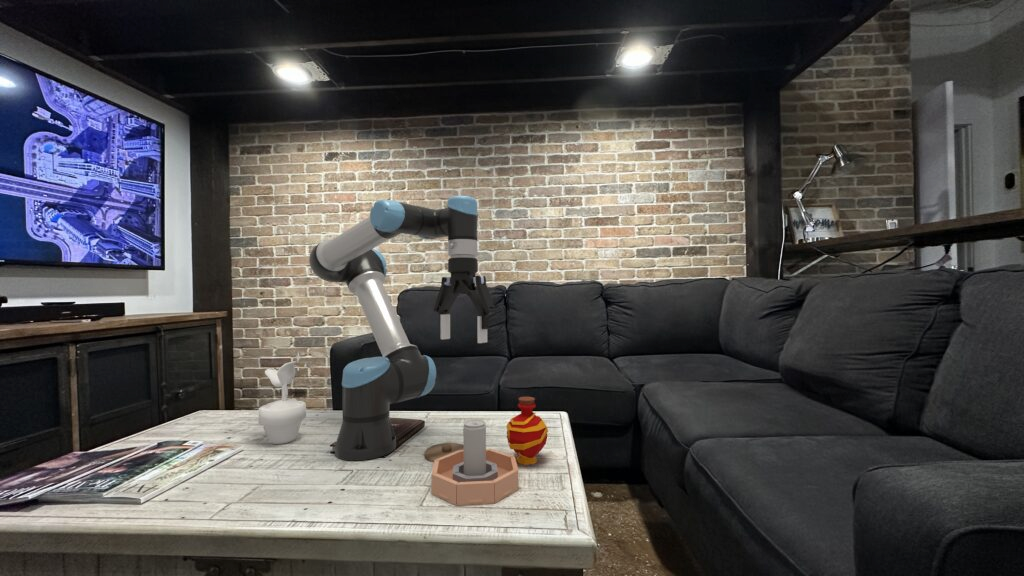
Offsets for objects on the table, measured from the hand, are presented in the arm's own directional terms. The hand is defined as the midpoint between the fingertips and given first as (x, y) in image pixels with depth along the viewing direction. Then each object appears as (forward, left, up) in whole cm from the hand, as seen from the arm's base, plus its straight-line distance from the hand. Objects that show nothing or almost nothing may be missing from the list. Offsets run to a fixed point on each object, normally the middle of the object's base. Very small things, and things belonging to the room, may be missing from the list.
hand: (463, 340), depth 106 cm
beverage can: (+14, -10, -28) cm, 33 cm away
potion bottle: (+15, +7, -29) cm, 33 cm away
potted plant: (-47, -25, -29) cm, 61 cm away
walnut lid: (-3, -3, -29) cm, 29 cm away
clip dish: (+14, -10, -29) cm, 33 cm away
